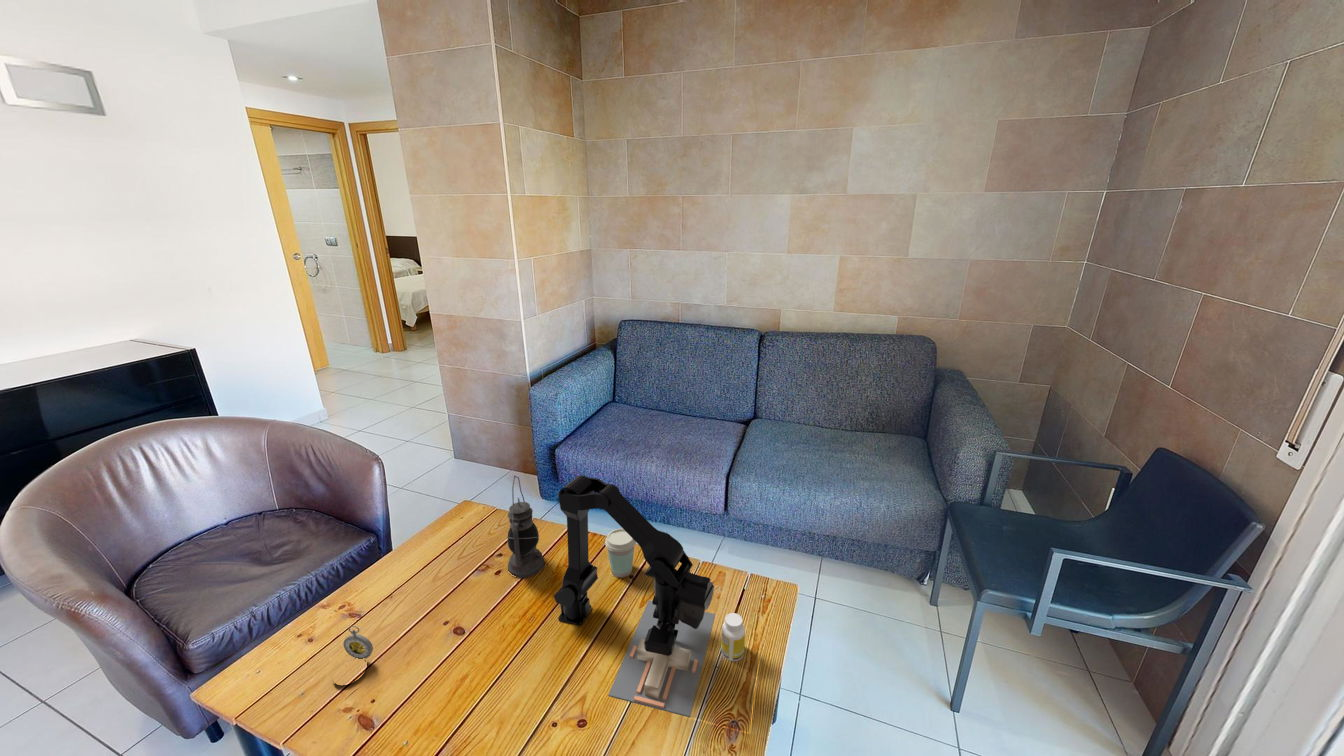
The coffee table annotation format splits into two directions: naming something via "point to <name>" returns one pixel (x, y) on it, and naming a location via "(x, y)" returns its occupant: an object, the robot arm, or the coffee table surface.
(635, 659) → the mat
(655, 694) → the t block
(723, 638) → the supplement bottle
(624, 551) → the coffee cup
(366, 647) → the pocket watch
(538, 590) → the coffee table surface
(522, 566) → the lantern
